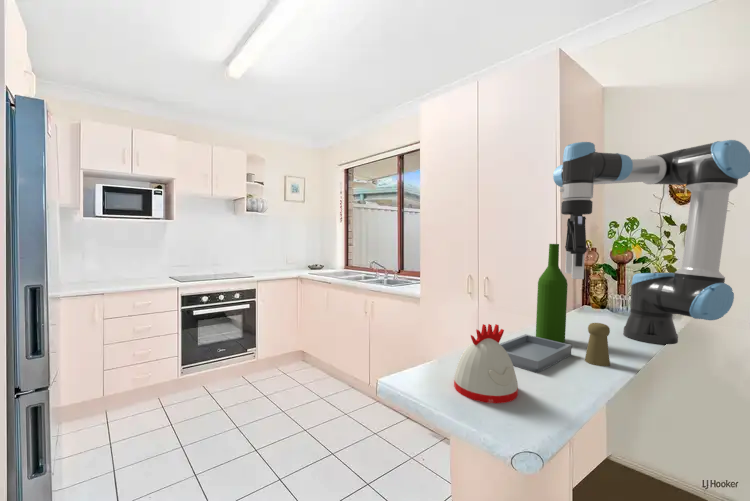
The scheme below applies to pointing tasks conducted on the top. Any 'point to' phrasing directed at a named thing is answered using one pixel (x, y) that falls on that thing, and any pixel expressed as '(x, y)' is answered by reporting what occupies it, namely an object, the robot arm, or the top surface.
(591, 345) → the cork
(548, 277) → the wine bottle
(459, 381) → the kitchen timer
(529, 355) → the slate tray
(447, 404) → the top surface
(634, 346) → the top surface
